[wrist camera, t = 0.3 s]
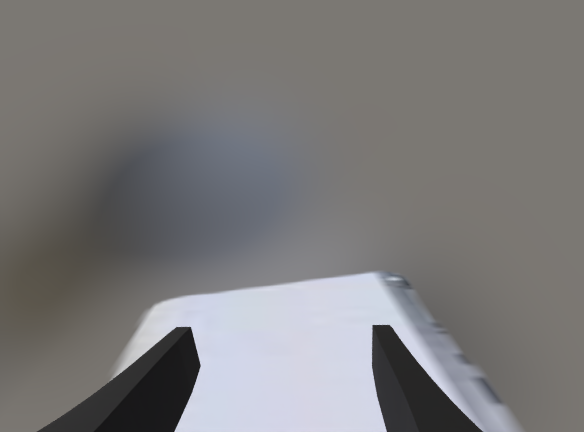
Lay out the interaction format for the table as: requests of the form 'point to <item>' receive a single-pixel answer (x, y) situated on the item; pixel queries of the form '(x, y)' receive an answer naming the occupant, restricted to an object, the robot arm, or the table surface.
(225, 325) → the table surface
